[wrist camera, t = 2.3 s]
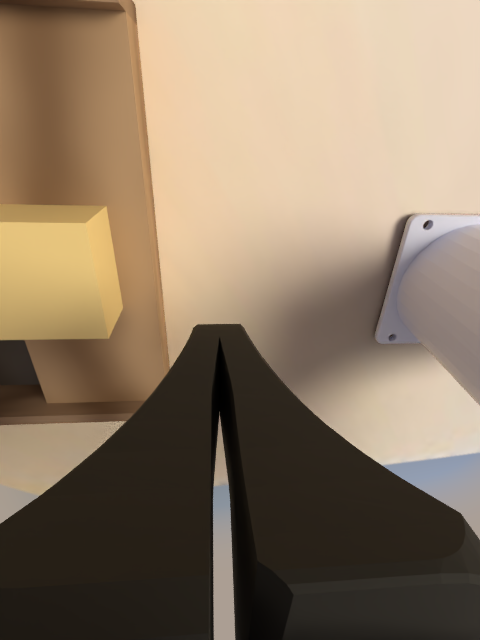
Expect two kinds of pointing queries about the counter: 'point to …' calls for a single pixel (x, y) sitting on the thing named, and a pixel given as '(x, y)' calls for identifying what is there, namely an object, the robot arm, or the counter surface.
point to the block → (57, 273)
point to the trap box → (82, 199)
